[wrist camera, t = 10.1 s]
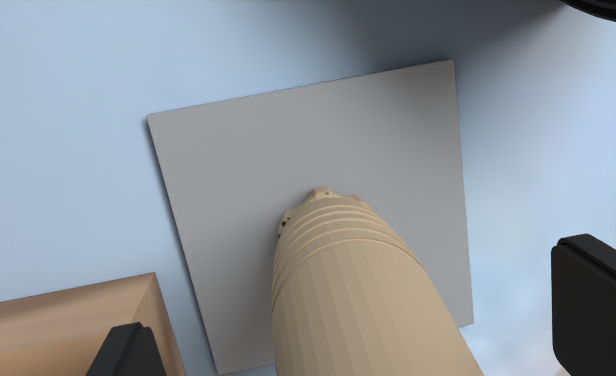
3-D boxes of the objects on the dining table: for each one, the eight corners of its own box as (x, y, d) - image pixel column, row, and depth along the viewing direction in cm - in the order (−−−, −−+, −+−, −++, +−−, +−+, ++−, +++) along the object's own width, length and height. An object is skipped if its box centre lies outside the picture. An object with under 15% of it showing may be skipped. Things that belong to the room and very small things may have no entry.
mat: (149, 114, 15) (146, 116, 15) (449, 58, 16) (454, 59, 15) (219, 368, 18) (218, 375, 18) (469, 318, 19) (474, 323, 18)
